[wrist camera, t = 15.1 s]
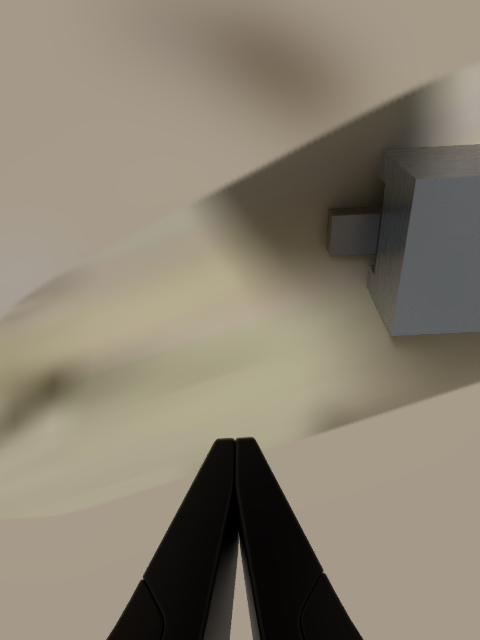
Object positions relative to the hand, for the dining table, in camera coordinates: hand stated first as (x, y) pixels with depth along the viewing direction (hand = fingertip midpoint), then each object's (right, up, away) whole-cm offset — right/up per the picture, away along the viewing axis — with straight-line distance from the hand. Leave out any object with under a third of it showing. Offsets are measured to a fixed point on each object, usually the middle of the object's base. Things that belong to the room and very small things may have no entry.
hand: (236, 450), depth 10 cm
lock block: (+10, +7, +10) cm, 16 cm away
